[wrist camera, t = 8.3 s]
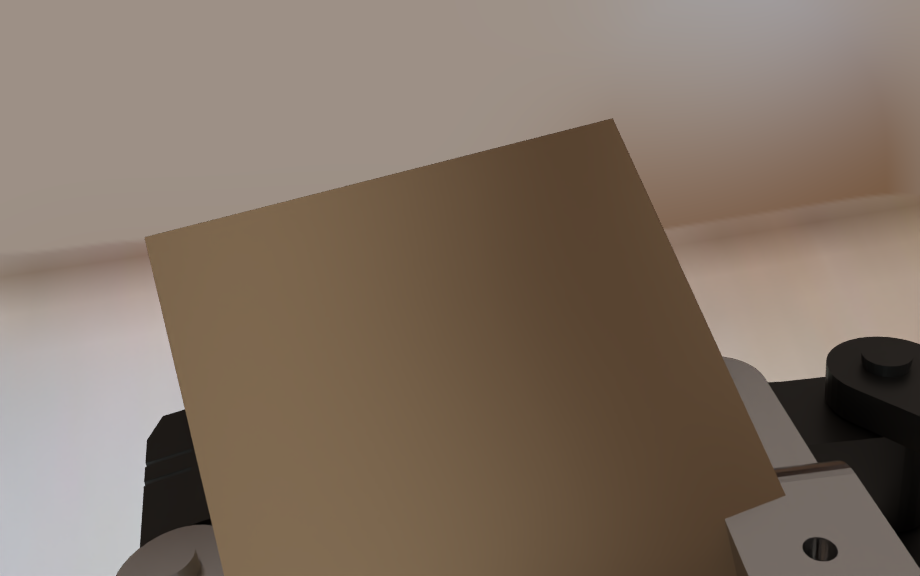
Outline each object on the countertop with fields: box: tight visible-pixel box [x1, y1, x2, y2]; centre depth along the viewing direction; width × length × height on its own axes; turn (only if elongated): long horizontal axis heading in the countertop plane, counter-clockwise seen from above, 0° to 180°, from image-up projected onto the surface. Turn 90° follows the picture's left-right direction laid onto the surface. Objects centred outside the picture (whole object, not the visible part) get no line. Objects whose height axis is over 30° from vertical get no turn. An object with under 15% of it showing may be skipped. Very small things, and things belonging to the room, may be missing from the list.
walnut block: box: [145, 119, 786, 576], centre depth 11 cm, size 4×4×10 cm
